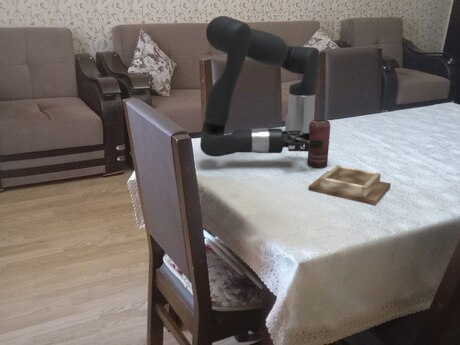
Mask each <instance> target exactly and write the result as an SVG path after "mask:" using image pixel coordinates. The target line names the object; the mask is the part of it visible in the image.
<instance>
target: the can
mask: <svg viewBox="0 0 460 345" xmlns="http://www.w3.org/2000/svg"><path fill="white" fill-rule="evenodd" d="M330 132H331V123H330V121H329V120H327V119H314V120H312V121H311V122H310V123H309V141H322V142H323V146H322V148H316V149H309V151H307V165H308V166H309V167H311V168H314V169H324V168H326V167H327V166H328V161H329V158H328V157H329V151H330V150H329V149H330V148H329V146H330V136H331V135H330V134H331V133H330Z"/></svg>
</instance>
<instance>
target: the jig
mask: <svg viewBox="0 0 460 345" xmlns="http://www.w3.org/2000/svg"><path fill="white" fill-rule="evenodd" d="M391 184H392V183H389V182H387V181H381V173H379V172H373V171H368V170H363V169H357V168H352V167H349V166H348V167H347V166H343V165H338V164H337V165H336V166H334V167H333V168H331V169H330V170H327V171H326V172H325V173H323V174H322V175H320V177H318V178H317V179H315V180H314V181H313V182H311V183H310V184H309V185H308V189H307V190H308V191H312V192H316V193H320V194H324V195H328V196H334V197H338V198H342V199H347V200H351V201H356V202H359V203H364V204H368V205H372V206H376V205H377V204H378V203H379V202H380V200H381V199H382V198H383V197H384V196H385V194H387V192H388V191H389V190H390V188H391V187H392V186H391Z"/></svg>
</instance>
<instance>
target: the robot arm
mask: <svg viewBox="0 0 460 345" xmlns="http://www.w3.org/2000/svg"><path fill="white" fill-rule="evenodd" d="M205 31H206V32H205V35H206V39H207V42H208V44H209V46H211V47H212V48H214V49H215V50H217V51H220V52H222V53H223V54H227V55H226V62H225V66H224V69H223V72H222V73H221V74H220V76H219V78H218V79H217V80H216V81H215V82H214V84H212V86H211V87H210V90H209V92H208V95H207V99H206V105H205V112H204V120H203V124H202V130H201V135H200V145H199V147H200V150H201V152H202V153H203V154H205V155H206V156H208V157H209V156H210V157H224V156H228V155H233V154H236V153H242V154H243V153H253V154H281V153H283V149H284V148H287V150H288V152H307V153H308V151H309V149H316V148H322V146H323V142H322V141H309V123H310V122H311V121H312V120H315V108H316V106H315V105H316V92H317V87H318V83H319V82H318V81H319V74H320V73H319V72H320V66H321V53H320V51H319V49H318V48H317V47H315V46H313V47H312V46H299V45H287V43H286V41H285V40H284V39H283V38H282V37H280V36H279V35H276V34H273V33H271V32H267V31H264V30H260V29H254V28H252V27H250V26H249V24H248V23H246V22H244V21H241V20H239V19H235V18H233V17H231V16H230V17H229V16H226V15H220V16H216V17H215V18H213V19H212V20H210V21H209V23H208V24H207V27H206V30H205ZM246 58H248V59H251V60H253V61H255V62H258V63H260V64H264V65H267V66H271V67H280V68H282V69H284V70H285V71H288V72H290V73H292V74H299V75H302V79H301V80H300V81H299V82H295V83H293V84H291V85H290V86H289V91H288V109H287V110H288V112H287V113H286V115H285V124H284V126H285V128H284V129H285V130H283V129H282V128H280V127H279V128H275V127H272V128H270V127H269V128H267V127H266V128H263V127H261V128H251V129H243V128H241V129H235V130H233V131H232V132H231V133H228V134H227V133H225V131H226V130H225V129H226V124H227V122H228V119H229V116H230V112H231V111H230V110H231V106H232V100H233V96H234V92H235V89H236V86H237V82H238V80H239V79H240V78H239V77H240V75H241V72H242V69H243V67H244V64H245V60H246Z"/></svg>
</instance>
